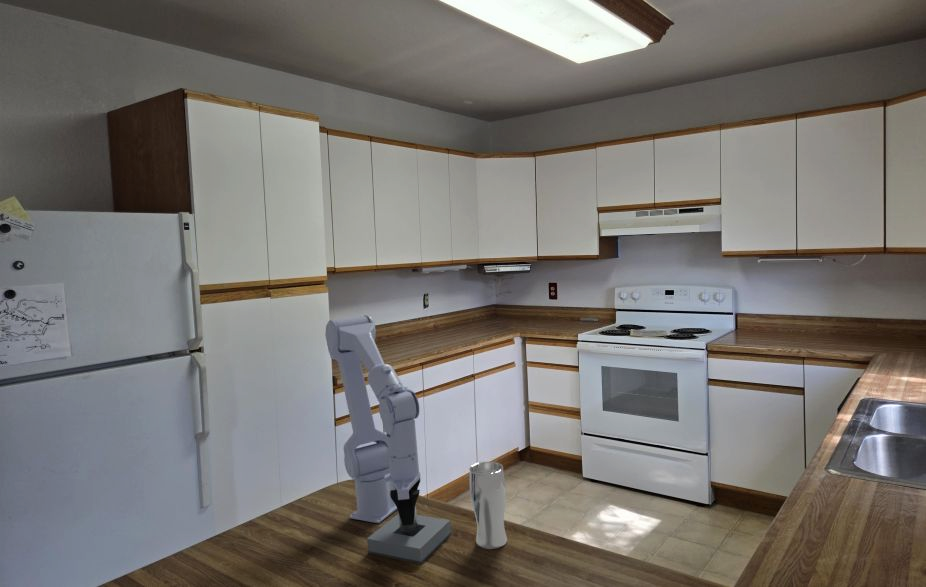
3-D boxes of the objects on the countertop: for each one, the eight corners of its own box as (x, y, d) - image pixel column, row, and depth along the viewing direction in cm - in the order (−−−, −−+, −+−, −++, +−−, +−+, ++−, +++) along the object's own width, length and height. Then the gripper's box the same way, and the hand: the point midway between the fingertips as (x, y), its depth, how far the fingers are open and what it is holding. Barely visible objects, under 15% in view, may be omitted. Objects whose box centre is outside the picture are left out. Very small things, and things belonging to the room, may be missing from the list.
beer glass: (515, 544, 121) (510, 469, 119) (482, 553, 118) (476, 477, 117) (500, 529, 127) (495, 458, 126) (468, 538, 125) (462, 465, 123)
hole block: (401, 525, 132) (400, 512, 132) (451, 534, 127) (450, 520, 126) (368, 553, 122) (366, 538, 121) (421, 564, 116) (419, 548, 116)
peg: (400, 524, 125) (396, 491, 125) (418, 522, 126) (414, 488, 125) (399, 533, 122) (395, 498, 121) (418, 530, 122) (414, 496, 121)
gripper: (385, 442, 129) (391, 505, 131) (378, 468, 115) (385, 539, 116) (419, 439, 130) (424, 502, 131) (417, 465, 115) (423, 535, 117)
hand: (408, 519), depth 124 cm, fingers closed on peg, 4 cm apart
